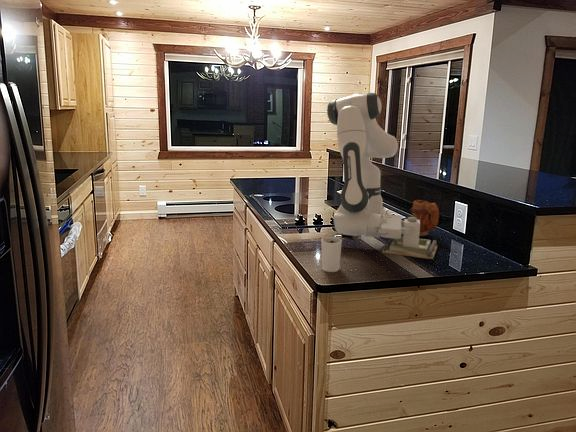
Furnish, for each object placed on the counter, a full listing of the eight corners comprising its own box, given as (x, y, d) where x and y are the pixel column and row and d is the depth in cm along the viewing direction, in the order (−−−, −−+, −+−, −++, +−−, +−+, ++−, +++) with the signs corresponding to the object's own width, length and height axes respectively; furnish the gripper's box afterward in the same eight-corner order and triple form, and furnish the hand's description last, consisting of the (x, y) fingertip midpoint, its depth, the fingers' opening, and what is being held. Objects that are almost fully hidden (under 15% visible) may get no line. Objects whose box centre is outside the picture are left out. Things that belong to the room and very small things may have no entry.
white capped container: (402, 244, 177) (404, 215, 174) (417, 245, 176) (419, 216, 173) (402, 248, 172) (404, 219, 169) (418, 249, 171) (420, 220, 168)
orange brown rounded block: (404, 232, 196) (406, 198, 193) (419, 231, 199) (422, 196, 195) (426, 242, 183) (429, 205, 179) (442, 240, 186) (446, 204, 182)
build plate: (363, 236, 193) (364, 225, 192) (359, 241, 186) (360, 230, 185) (334, 233, 197) (335, 222, 196) (329, 237, 191) (330, 226, 190)
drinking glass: (318, 266, 157) (318, 237, 154) (336, 264, 158) (337, 236, 156) (324, 273, 151) (324, 243, 148) (343, 271, 152) (344, 242, 150)
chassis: (390, 240, 185) (390, 233, 184) (437, 246, 178) (438, 239, 177) (381, 253, 170) (381, 245, 169) (432, 260, 163) (433, 252, 162)
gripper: (375, 224, 164) (415, 227, 161) (377, 211, 184) (414, 213, 180) (374, 241, 166) (414, 244, 163) (377, 226, 185) (412, 229, 182)
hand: (414, 228), depth 172 cm, fingers open, 6 cm apart
